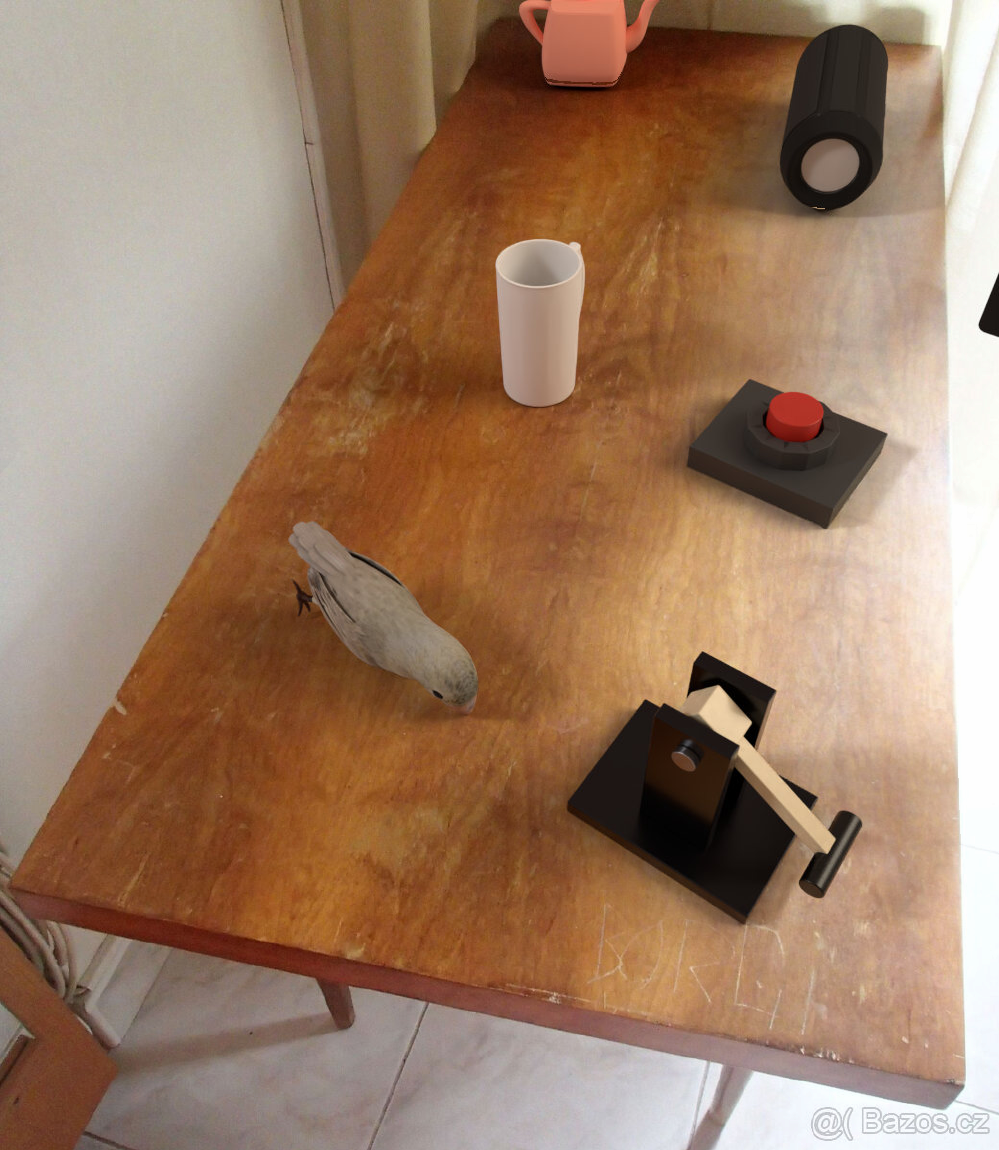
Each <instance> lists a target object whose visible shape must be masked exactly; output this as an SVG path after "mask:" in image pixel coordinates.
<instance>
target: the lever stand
mask: <svg viewBox="0 0 999 1150" xmlns="http://www.w3.org/2000/svg"><path fill="white" fill-rule="evenodd" d="M688 683H689V684H688V688H687V693H686V697H685V700H686V699H687V698H688V696H689V695H690V693H691V692H694V691H698V690H702V689H705V688H709V687H713V686H716V685H719V686H720V687H721V688H722V689H723V690H724V691H725V693H726V694H727V695H728V696H729V697H730V698H731V699H732V700H733V701H734V703H735V704H736V705H737V706H738V707H739V708H740V709H741V710H742V711H743V713H744V714H745V715H746V716H747V717H748V718H749V719H750V720H751V722H752V724H751V725H750V727H749V728H748V730H747V731H746V733H745V734H744V736H743V737H744V738H745V739H746V740H747V741H748V742H749V743H750V744H751V745H752V747H753V748H754V749H755V750H756V751H757V752H758V750H759V747H760V744H761V741H762V738H763V736H764V732H765V729H766V726H767V722H768V720H769V717H770V713H771V711H772V707H773V704H774V701H775V697H776V695H777V692H778V691H777V689H775V688H773V687H772V686H769V685H767V684H765V683H764V682H762V681H760V680H759V679H756V678H754V677H753V676H751V675H749V674H747V673H745V672H743V671H742V670H739V669H738V668H735V667H734V666H732V665H730V664H728V663H726V662H724V661H722V660H721V659H718V658H716V656H713V655H711V654H709V653H708V652H705V651H703V650H702V651H701V652H700V653H699V654H698V656H697V657H696V658H695V660H694V661H693V663H692V667H691V673H690V677H689V682H688ZM678 710H679V709H676V708H674V707H673V706H671V705H670V704H667V703H666V702H663V703H662V704H661V706H660V705H657V704H655V703H654V702H652V701H650V700H648V699H644V700H643V701H642V702H641V703H640V705H639V706H638V708H637V709H636V710H635V712H633V715H631V717H630V718H629V719H628V721H627V722H626V723H625V725H624V726H623V727H622V729H621V730H620V732H619V733H618V734H617V735H616V736H615V738H614V740H612V742H611V743H610V745H609V746H608V747H607V749H605V751H604V752H603V754H602V755H601V756H600V758H599V759H598V761H597V762H596V763H595V764H594V766H593V767H592V768H591V770H590V771H589V773H587V775H586V776H585V777H584V779H583V780H582V782H581V783H580V785H578V787H577V788H576V789H575V791H574V792H573V794H572V795H571V796H570V797H569V799H568V800H567V801H566V811H567V812H568V813H570V814H571V815H573V816H574V817H575V818H577V819H579V820H581V821H582V822H584V823H585V824H587V825H588V826H589V827H592V828H593V829H594V830H596V831H598V832H599V833H601V834H602V835H603V836H605V837H607V838H608V839H609V840H612V841H613V842H614V843H616V844H618V845H619V846H621V847H622V848H624V849H625V850H627V851H628V852H630V853H631V854H633V855H635V856H636V857H638V858H639V859H641V860H643V861H644V862H646V863H647V864H649V865H651V867H653V868H655V869H657V870H658V871H659V872H661V873H663V874H664V875H666V876H667V877H668V878H670V879H672V880H674V881H675V882H676V883H678V884H679V885H681V886H683V887H684V888H686V889H687V890H689V891H691V892H692V893H694V894H695V895H697V896H698V897H700V898H701V899H703V900H704V901H706V902H707V903H709V904H710V905H712V906H714V907H715V908H717V909H718V910H720V911H722V912H723V913H724V914H726V915H727V916H729V917H731V918H732V919H734V920H735V921H737V922H738V923H740V924H742V925H743V926H745V925H746V924H747V923H748V921H749V919H750V918H751V916H752V914H753V912H754V910H755V909H756V907H758V906H757V905H758V904H759V902H760V900H761V899H762V897H763V895H764V894H765V892H766V891H767V889H768V887H769V885H770V884H771V882H772V880H773V878H774V877H775V875H776V873H777V871H778V870H779V868H780V867H781V865H782V863H783V861H784V860H785V858H786V856H787V855H788V853H789V852H790V850H791V848H792V847H793V844H794V843H795V841H796V839H797V838H798V836H797V835H796V834H795V833H794V832H793V830H792V829H791V828H790V827H789V826H788V825H787V824H786V823H785V822H784V821H783V819H782V818H781V817H780V816H779V815H778V814H777V813H776V812H775V811H774V809H773V808H772V807H771V806H770V805H769V804H768V803H767V802H766V801H765V800H764V798H763V797H762V796H761V795H760V794H759V793H758V792H757V791H756V790H755V789H754V787H753V786H752V785H751V784H750V783H749V782H748V781H747V780H746V779H745V778H744V776H743V775H742V774H741V773H740V772H739V771H738V770H737V769H736V768H735V766H734V765H735V762H736V758H737V755H738V751H739V748H740V746H739V745H738V744H736V743H735V742H733V741H731V740H729V739H727V738H726V737H724V736H722V735H720V734H719V733H717V732H715V731H713V730H712V729H710V728H708V727H706V726H704V725H703V724H701V723H699V722H697V721H696V720H694V719H692V718H690V717H689V716H687V715H685V714H683V713H681V712H680V711H678ZM777 774H778V773H777ZM778 775H779V777H780V778H781V779H782V780H783V781H784V782H785V783H786V784H787V785H788V787H789V788H790V789H791V790H792V791H793V792H794V793H795V794H796V795H797V797H798V798H799V799H800V800H801V801H802V802H803V803H804V804H805V805H806V807H807V808H808V809H809V810H810V811H811V812H812V813H813V810H814V808H815V807H816V804H817V803H818V800H819V797H818V796H817V795H815V794H813V793H812V792H810V791H808V790H807V789H805V788H803V787H802V786H800V785H798V784H796V783H794V782H793V781H791V780H789V779H787V778H786V777H784V776H782V775H781V774H778Z"/></svg>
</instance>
